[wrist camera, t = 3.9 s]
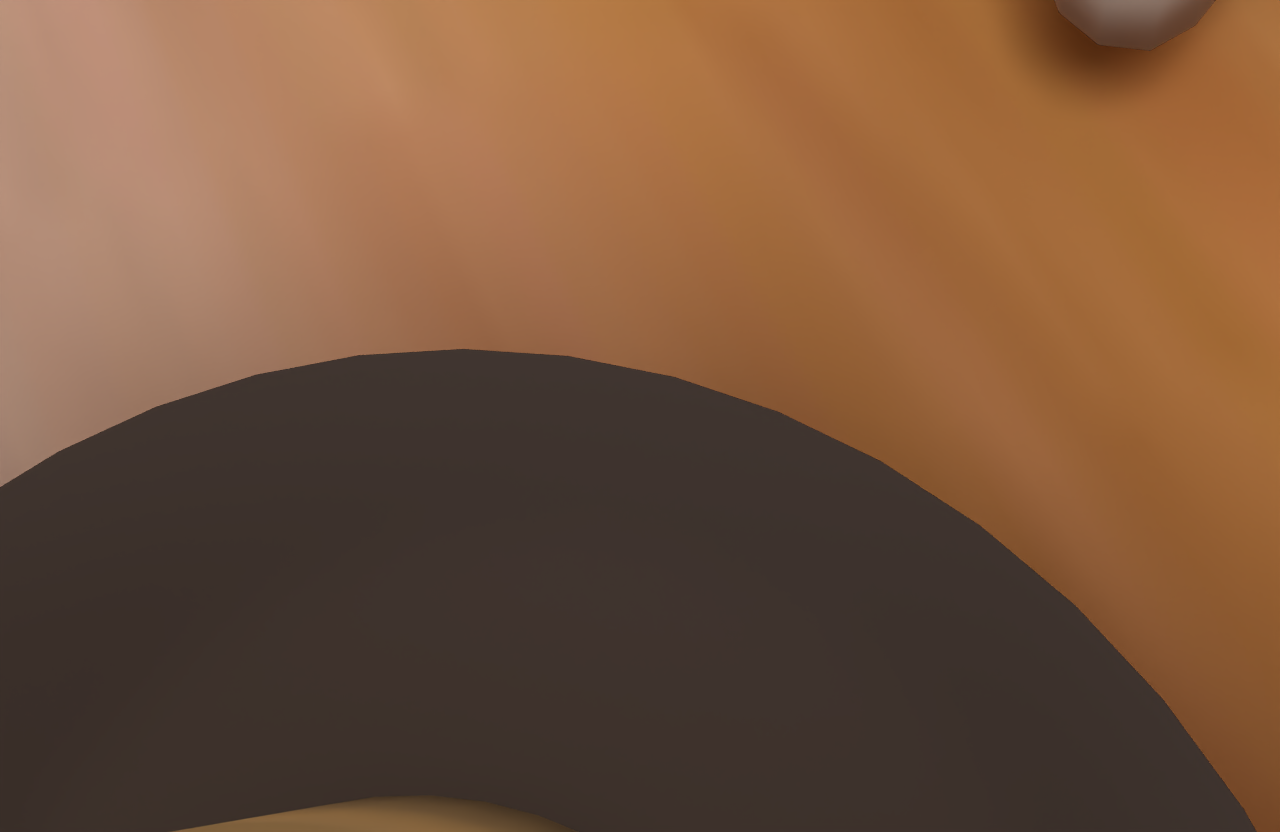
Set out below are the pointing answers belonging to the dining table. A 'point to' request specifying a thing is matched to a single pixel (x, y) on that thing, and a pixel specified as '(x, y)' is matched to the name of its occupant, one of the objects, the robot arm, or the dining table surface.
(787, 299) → the dining table surface
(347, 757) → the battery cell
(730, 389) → the dining table surface
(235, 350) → the dining table surface
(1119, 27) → the bunny figurine
